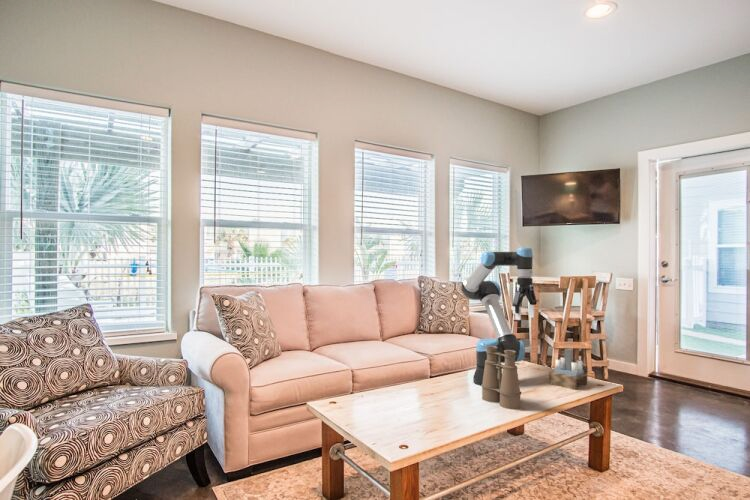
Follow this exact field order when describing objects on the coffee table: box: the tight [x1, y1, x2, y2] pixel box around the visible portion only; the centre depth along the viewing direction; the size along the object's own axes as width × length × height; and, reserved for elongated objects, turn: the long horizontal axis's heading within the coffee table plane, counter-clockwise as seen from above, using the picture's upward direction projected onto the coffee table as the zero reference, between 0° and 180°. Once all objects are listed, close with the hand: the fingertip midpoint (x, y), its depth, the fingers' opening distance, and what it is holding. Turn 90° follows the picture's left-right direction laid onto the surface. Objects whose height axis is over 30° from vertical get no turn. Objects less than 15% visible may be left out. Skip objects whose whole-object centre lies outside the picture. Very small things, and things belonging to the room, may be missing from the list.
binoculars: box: [480, 346, 522, 410], centre depth 197 cm, size 21×10×25 cm, turn 34°
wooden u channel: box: [548, 365, 588, 391], centre depth 226 cm, size 14×15×10 cm
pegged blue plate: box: [553, 348, 584, 376], centre depth 227 cm, size 12×10×12 cm
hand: (524, 318), depth 216 cm, fingers open, 13 cm apart
